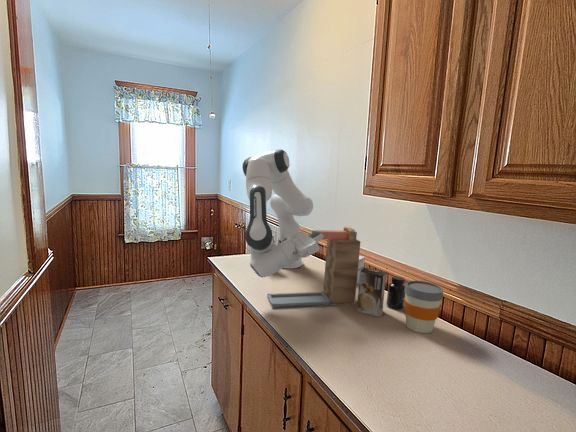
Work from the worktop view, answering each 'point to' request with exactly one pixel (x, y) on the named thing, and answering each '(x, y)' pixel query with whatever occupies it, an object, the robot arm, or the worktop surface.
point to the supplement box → (360, 266)
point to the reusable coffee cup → (422, 305)
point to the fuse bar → (332, 234)
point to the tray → (298, 299)
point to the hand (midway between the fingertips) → (320, 233)
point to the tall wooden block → (341, 269)
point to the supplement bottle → (396, 293)
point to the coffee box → (371, 291)
